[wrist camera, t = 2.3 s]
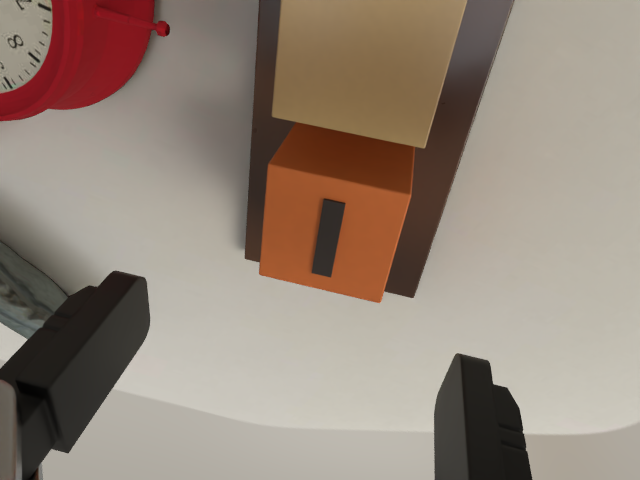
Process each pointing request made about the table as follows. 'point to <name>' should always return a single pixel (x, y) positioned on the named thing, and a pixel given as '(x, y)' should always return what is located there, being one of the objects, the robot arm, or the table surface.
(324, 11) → the tray
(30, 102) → the alarm clock
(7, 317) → the stone
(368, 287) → the orange slotted cube
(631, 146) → the table surface
